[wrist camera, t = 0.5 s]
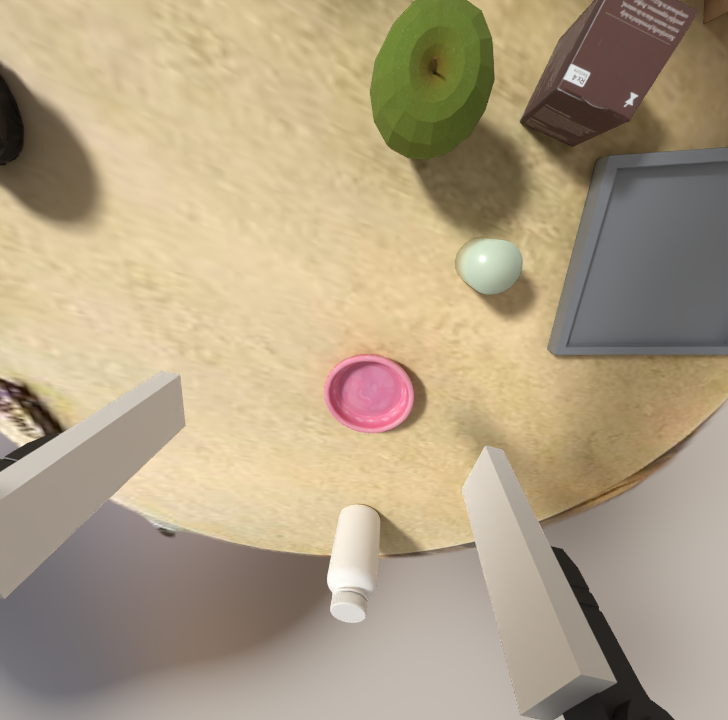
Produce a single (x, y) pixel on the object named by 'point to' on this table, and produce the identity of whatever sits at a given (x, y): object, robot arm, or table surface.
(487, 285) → the sage canister
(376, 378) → the pink shallow round dish
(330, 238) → the table surface
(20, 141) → the container
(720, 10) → the walnut block
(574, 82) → the box
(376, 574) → the pill bottle
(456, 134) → the apple
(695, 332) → the tray
